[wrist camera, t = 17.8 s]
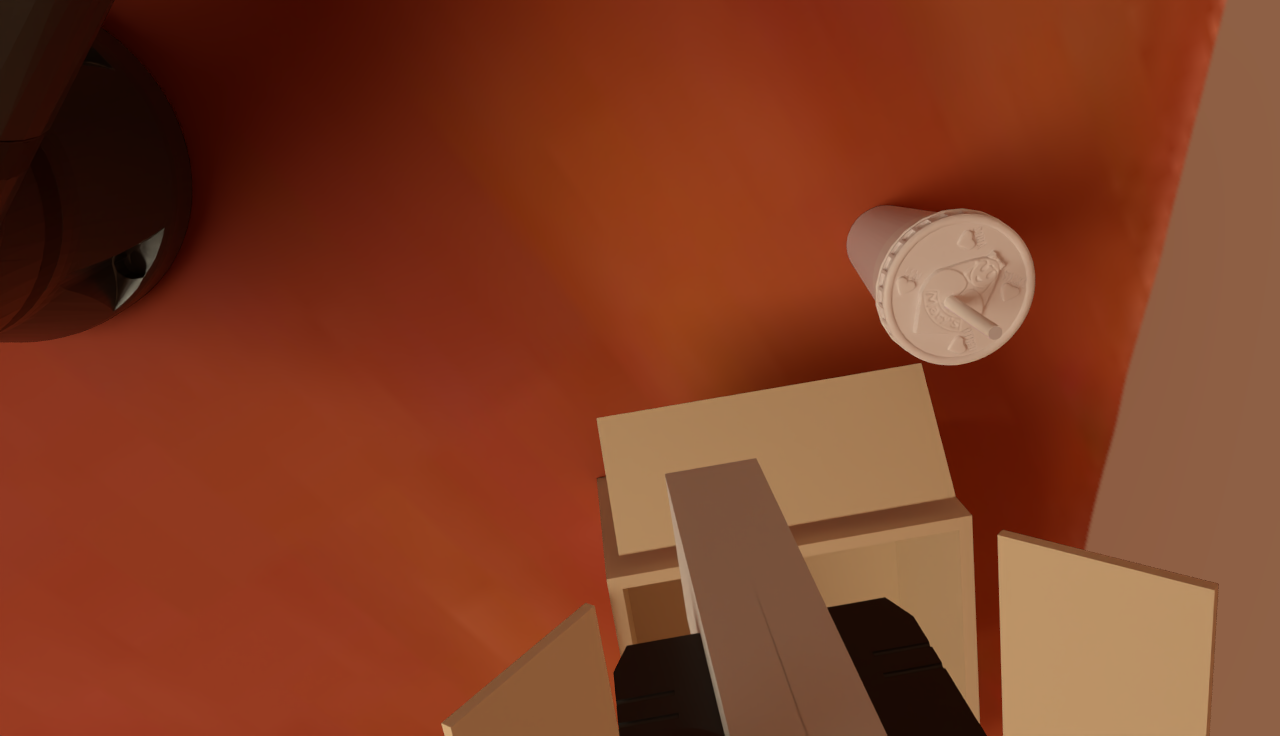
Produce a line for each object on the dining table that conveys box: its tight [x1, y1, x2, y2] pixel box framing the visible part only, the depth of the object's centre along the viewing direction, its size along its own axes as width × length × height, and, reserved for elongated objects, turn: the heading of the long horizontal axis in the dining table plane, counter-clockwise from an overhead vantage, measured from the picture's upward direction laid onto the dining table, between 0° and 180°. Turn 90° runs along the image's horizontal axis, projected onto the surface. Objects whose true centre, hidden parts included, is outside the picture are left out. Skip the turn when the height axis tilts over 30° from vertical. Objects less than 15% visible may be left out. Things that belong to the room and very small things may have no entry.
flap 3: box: [998, 530, 1219, 736], centre depth 41 cm, size 8×13×1 cm
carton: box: [597, 477, 980, 724], centre depth 49 cm, size 16×14×10 cm
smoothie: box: [847, 205, 1035, 365], centre depth 42 cm, size 6×6×14 cm
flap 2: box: [597, 363, 955, 556], centre depth 43 cm, size 15×6×1 cm
